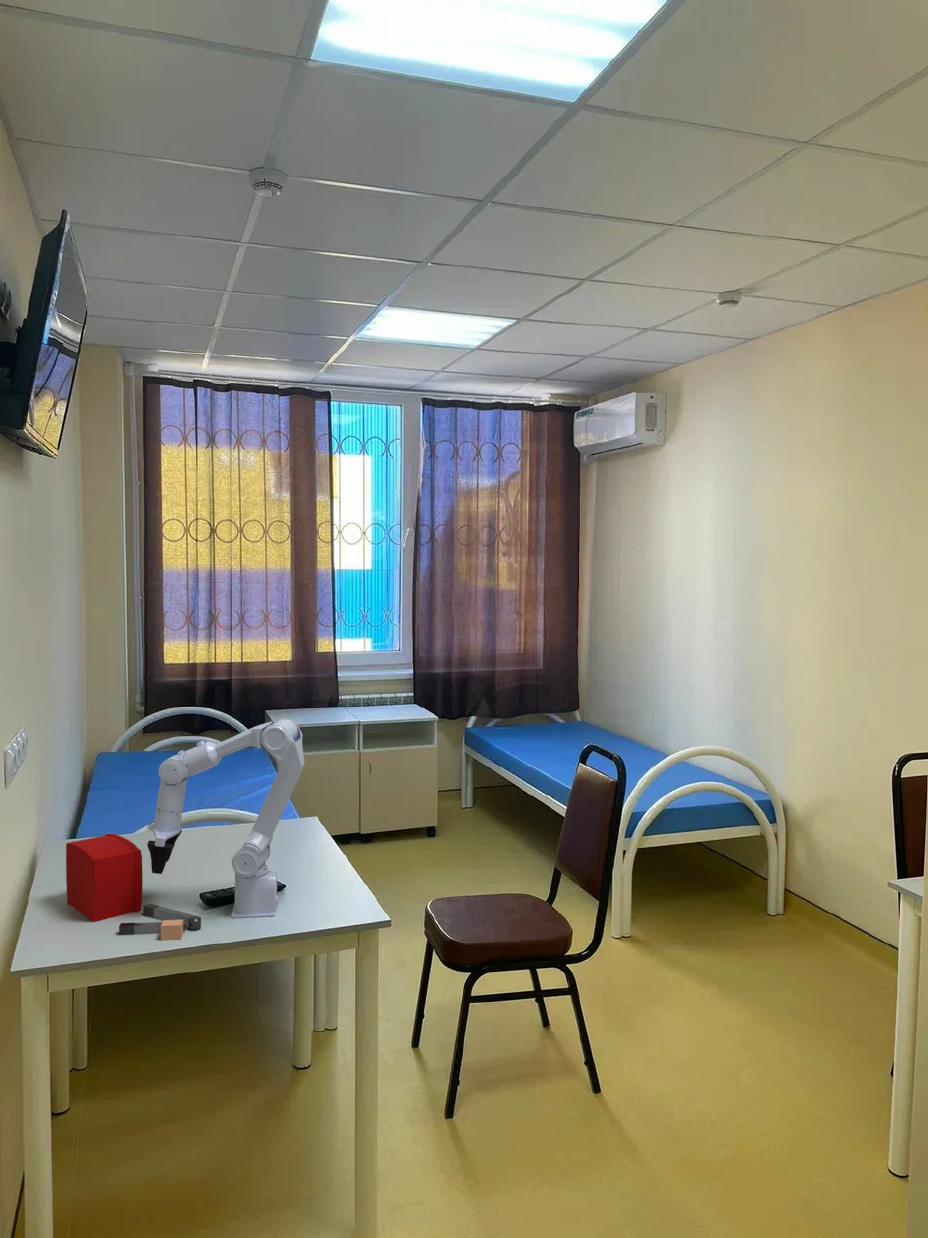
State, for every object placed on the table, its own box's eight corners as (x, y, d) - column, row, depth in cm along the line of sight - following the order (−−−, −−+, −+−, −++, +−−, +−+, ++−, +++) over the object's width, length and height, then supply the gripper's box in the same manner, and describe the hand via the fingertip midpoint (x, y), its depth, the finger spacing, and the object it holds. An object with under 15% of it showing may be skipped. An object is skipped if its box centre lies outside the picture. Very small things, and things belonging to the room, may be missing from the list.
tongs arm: (205, 926, 191) (205, 916, 190) (194, 932, 188) (195, 921, 188) (149, 912, 198) (149, 902, 198) (138, 917, 195) (138, 907, 195)
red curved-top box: (143, 911, 199) (142, 845, 198) (94, 924, 192) (94, 856, 191) (112, 891, 211) (112, 829, 210) (66, 903, 203) (65, 838, 202)
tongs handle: (185, 930, 189) (185, 920, 189) (184, 933, 187) (184, 923, 187) (120, 932, 187) (120, 923, 187) (119, 936, 185) (119, 926, 185)
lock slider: (183, 933, 187) (183, 919, 187) (180, 939, 184) (180, 925, 184) (163, 934, 186) (163, 920, 186) (160, 940, 183) (160, 926, 183)
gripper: (157, 797, 206) (148, 853, 207) (144, 816, 192) (135, 876, 193) (188, 801, 207) (179, 857, 208) (178, 820, 193) (168, 880, 194)
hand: (160, 867), depth 201 cm, fingers open, 7 cm apart
